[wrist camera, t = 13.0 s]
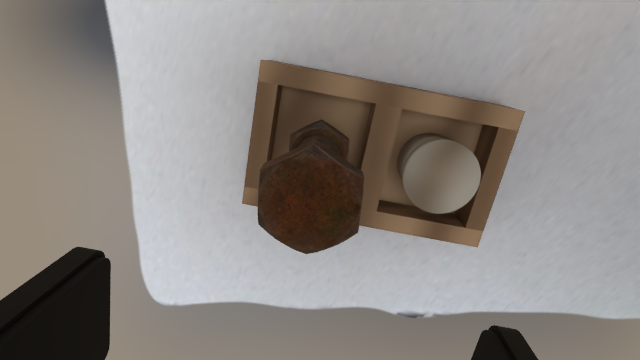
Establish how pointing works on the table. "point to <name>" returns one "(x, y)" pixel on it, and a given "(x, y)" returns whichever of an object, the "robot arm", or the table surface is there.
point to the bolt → (311, 191)
